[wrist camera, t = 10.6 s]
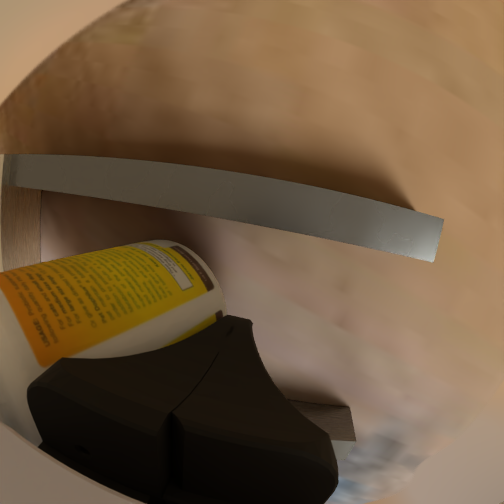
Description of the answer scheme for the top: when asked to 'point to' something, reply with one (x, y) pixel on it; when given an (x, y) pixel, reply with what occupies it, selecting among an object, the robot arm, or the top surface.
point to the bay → (215, 205)
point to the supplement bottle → (97, 313)
